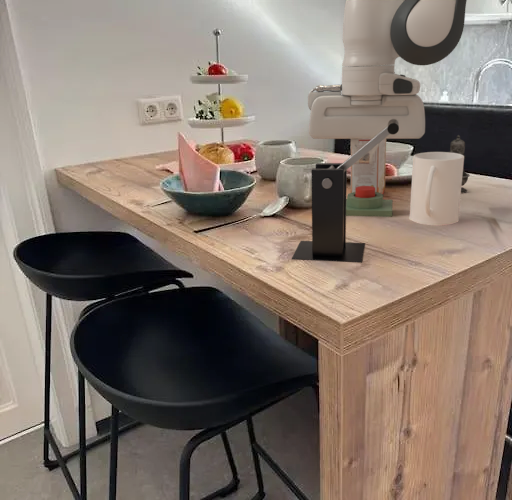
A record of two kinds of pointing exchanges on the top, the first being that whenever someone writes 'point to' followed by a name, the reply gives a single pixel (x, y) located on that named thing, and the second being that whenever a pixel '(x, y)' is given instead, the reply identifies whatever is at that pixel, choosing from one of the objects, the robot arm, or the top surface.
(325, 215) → the lever bracket
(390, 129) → the press lever
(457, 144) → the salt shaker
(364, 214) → the button block
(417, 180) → the mug
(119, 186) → the top surface
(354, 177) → the cracker box
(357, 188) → the button
